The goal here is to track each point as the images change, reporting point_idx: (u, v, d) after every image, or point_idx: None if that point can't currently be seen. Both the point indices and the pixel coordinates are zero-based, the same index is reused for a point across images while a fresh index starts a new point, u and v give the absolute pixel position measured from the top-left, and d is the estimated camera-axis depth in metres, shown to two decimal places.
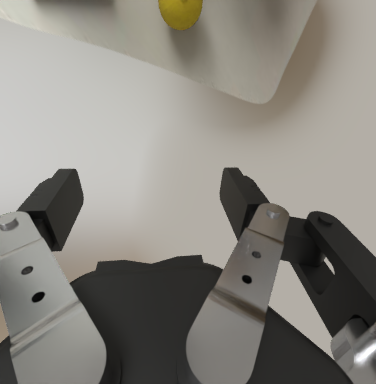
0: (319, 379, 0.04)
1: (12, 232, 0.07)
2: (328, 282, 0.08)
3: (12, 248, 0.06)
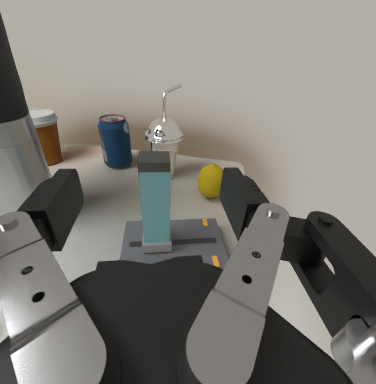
0: (319, 379, 0.04)
1: (12, 232, 0.07)
2: (328, 282, 0.08)
3: (12, 248, 0.06)
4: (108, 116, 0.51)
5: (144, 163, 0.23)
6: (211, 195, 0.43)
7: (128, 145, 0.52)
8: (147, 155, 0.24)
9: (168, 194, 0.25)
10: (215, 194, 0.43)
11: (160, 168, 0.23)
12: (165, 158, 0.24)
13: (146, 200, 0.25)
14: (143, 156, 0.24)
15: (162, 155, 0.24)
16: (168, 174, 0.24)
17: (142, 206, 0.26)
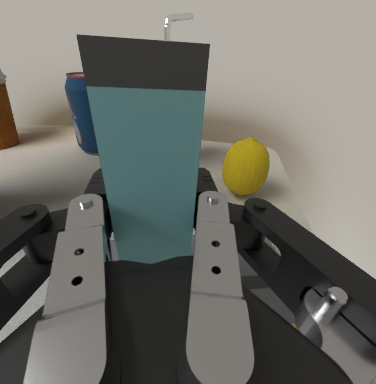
0: (311, 375, 0.04)
1: (85, 212, 0.08)
2: (273, 260, 0.09)
3: (99, 222, 0.07)
4: (82, 74, 0.34)
5: (105, 40, 0.06)
6: (246, 190, 0.26)
7: None
8: None
9: (192, 176, 0.08)
10: (253, 189, 0.25)
11: (168, 69, 0.06)
12: None
13: (124, 196, 0.08)
14: None
15: None
16: (197, 100, 0.07)
17: (114, 213, 0.09)
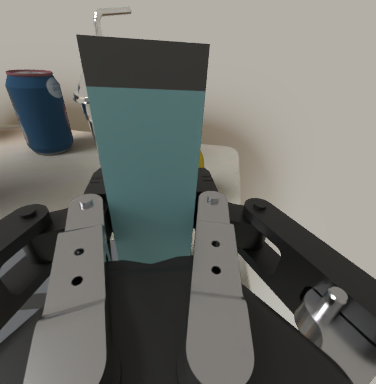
0: (311, 375, 0.04)
1: (85, 212, 0.08)
2: (273, 260, 0.09)
3: (99, 222, 0.07)
4: (27, 72, 0.33)
5: (105, 40, 0.06)
6: None
7: (60, 117, 0.34)
8: None
9: (192, 176, 0.08)
10: None
11: (168, 70, 0.06)
12: None
13: (124, 196, 0.08)
14: None
15: None
16: (197, 101, 0.07)
17: (114, 213, 0.09)
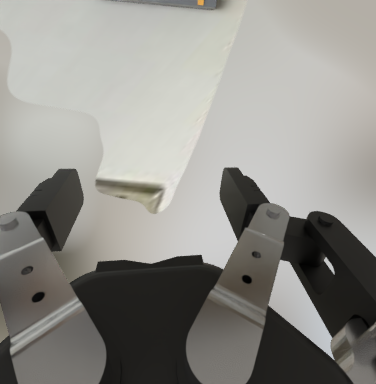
0: (319, 379, 0.04)
1: (13, 232, 0.07)
2: (328, 282, 0.08)
3: (12, 248, 0.06)
4: None
5: None
6: None
7: None
8: None
9: None
10: None
11: None
12: None
13: None
14: None
15: None
16: None
17: None
